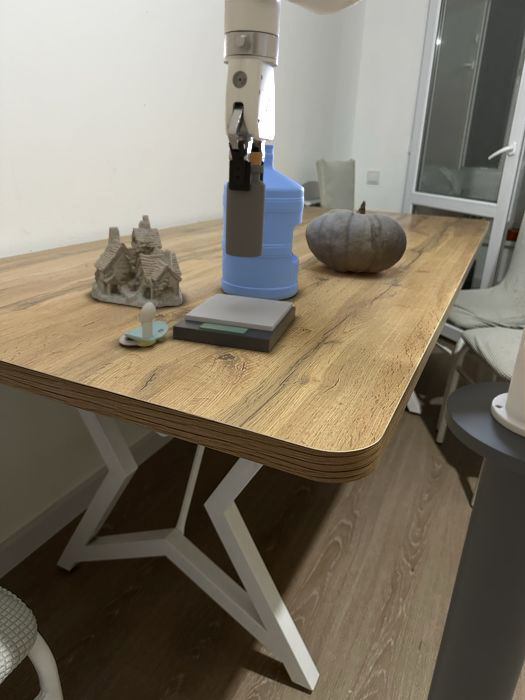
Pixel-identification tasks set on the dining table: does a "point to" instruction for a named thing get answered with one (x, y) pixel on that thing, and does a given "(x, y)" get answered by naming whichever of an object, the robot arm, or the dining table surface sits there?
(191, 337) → the scale
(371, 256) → the gourd
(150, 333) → the pacifier
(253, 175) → the bottle
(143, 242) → the ceramic cottage
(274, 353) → the dining table surface
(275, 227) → the water jug
